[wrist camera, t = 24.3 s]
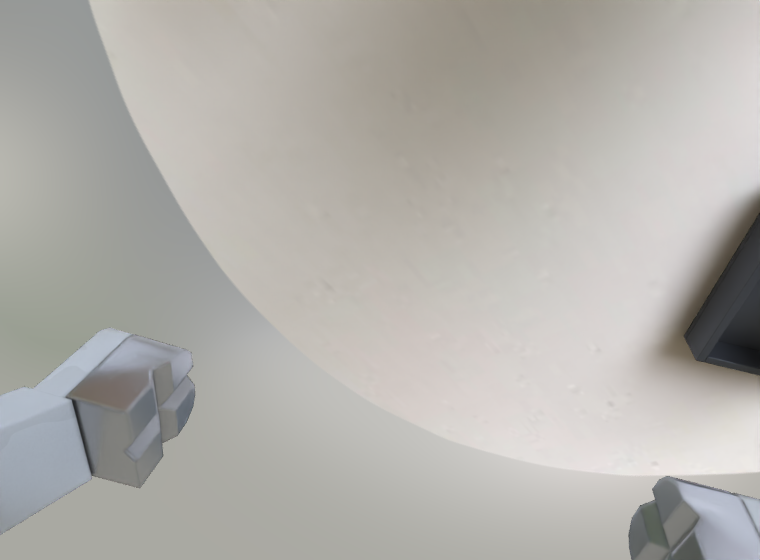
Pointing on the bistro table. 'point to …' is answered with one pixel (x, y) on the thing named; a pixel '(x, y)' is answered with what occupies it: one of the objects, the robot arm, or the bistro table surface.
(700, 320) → the bin
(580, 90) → the bistro table surface
